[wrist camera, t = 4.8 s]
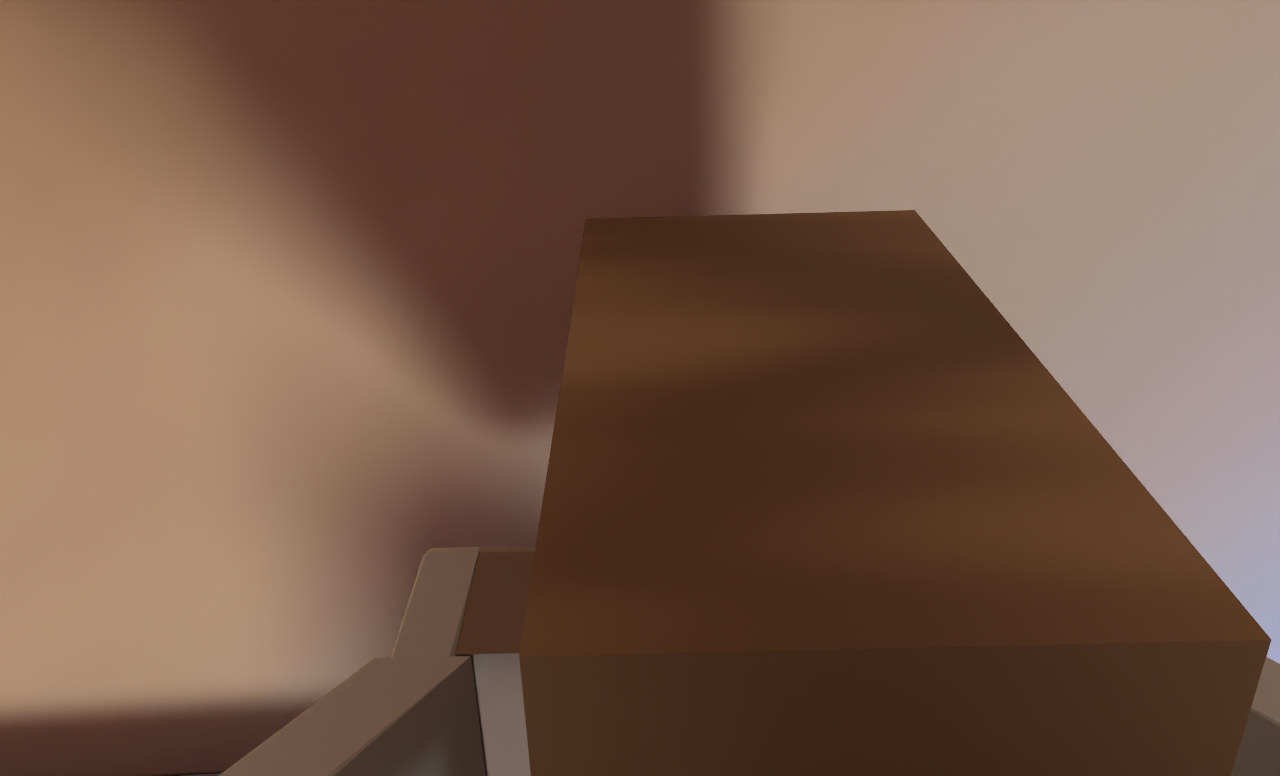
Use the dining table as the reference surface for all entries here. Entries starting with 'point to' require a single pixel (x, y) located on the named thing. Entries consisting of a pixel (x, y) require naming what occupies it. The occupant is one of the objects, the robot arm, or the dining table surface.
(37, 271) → the dining table surface
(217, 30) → the dining table surface
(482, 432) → the dining table surface
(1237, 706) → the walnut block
